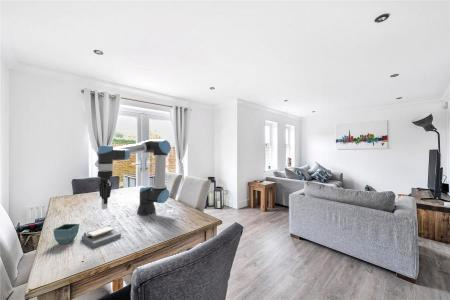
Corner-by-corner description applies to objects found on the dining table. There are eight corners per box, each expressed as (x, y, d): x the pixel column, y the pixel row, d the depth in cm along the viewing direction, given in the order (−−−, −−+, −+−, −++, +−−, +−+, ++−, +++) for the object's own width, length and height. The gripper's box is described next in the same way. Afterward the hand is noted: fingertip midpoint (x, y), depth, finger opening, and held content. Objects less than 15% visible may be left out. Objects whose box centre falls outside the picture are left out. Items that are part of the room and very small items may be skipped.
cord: (92, 233, 112) (94, 236, 110) (106, 229, 119) (108, 232, 117) (91, 237, 113) (93, 240, 111) (105, 232, 119) (107, 235, 118)
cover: (86, 233, 112) (86, 232, 112) (107, 227, 122) (107, 225, 122) (93, 236, 107) (93, 235, 107) (114, 229, 117) (114, 228, 117)
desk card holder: (81, 239, 112) (81, 232, 112) (108, 231, 125) (108, 224, 125) (93, 247, 103) (94, 239, 103) (120, 237, 116) (121, 230, 116)
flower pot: (64, 238, 113) (64, 223, 113) (79, 238, 114) (79, 223, 114) (52, 245, 105) (52, 229, 105) (68, 245, 105) (69, 229, 105)
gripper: (93, 170, 113) (92, 208, 113) (103, 171, 106) (103, 212, 106) (106, 169, 119) (105, 205, 119) (117, 170, 113) (116, 209, 113)
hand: (104, 208), depth 113 cm, fingers closed
